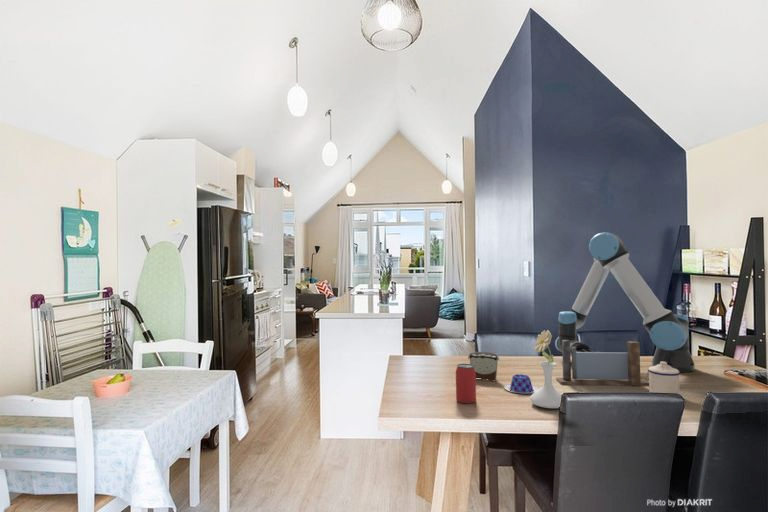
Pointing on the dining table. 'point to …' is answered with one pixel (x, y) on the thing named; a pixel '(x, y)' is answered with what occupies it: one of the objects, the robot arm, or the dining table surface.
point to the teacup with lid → (663, 378)
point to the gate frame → (633, 379)
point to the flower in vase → (546, 376)
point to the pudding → (521, 384)
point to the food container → (484, 364)
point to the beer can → (465, 383)
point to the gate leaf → (599, 365)
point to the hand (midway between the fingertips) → (609, 364)
